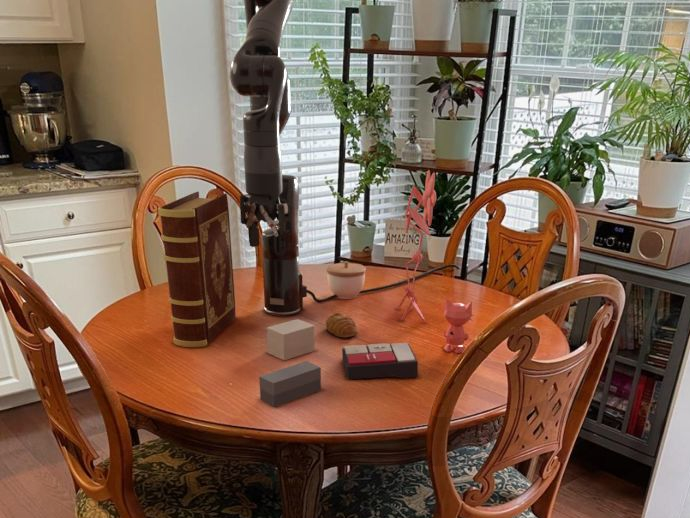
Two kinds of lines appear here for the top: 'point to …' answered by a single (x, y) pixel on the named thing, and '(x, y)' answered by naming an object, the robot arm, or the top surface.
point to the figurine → (428, 203)
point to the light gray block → (290, 347)
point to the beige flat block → (290, 330)
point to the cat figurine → (456, 324)
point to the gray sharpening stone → (290, 383)
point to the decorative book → (198, 267)
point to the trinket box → (346, 279)
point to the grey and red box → (379, 361)
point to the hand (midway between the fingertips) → (267, 250)
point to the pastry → (341, 325)
